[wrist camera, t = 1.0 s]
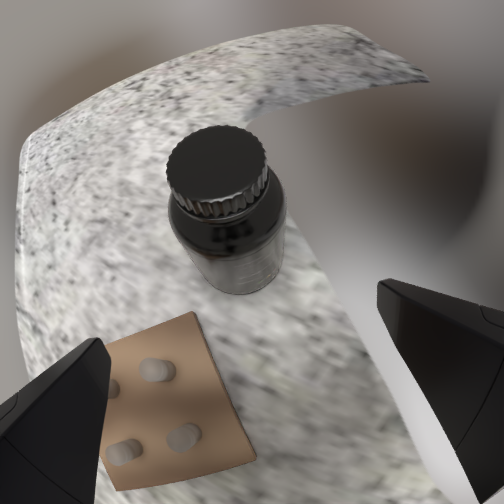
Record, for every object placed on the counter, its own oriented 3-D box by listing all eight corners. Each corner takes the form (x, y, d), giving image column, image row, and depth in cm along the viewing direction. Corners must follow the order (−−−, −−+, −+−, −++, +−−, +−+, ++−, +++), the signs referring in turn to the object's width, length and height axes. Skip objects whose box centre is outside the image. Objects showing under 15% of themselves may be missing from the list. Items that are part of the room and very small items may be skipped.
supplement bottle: (182, 254, 25) (121, 163, 14) (244, 204, 26) (225, 94, 15) (236, 315, 23) (200, 254, 12) (301, 257, 24) (320, 157, 13)
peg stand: (256, 456, 18) (253, 472, 14) (121, 488, 17) (98, 501, 13) (195, 313, 23) (180, 301, 19) (74, 359, 22) (46, 354, 18)
